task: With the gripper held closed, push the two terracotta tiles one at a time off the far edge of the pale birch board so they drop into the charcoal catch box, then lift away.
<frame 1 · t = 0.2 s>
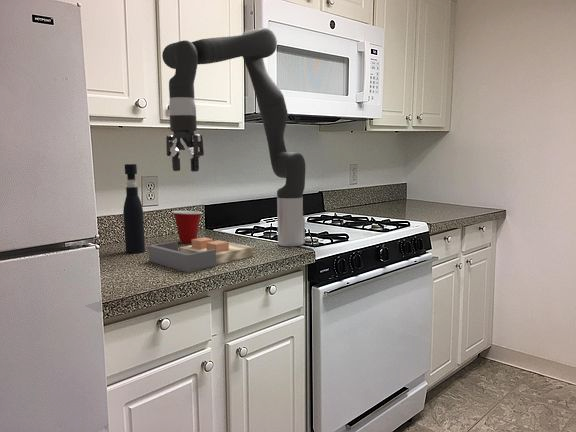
hand: (185, 171, 143), 29 cm above the worktop, fingers open, 8 cm apart
terracotta tile 1: (202, 246, 161), point 3 cm above the worktop, touching birch board
terracotta tile 2: (217, 250, 155), point 3 cm above the worktop, touching birch board
wine bottle: (135, 252, 169), on the worktop
birch board: (216, 256, 160), on the worktop
plastic cup: (188, 242, 184), on the worktop
catch box: (181, 263, 151), on the worktop
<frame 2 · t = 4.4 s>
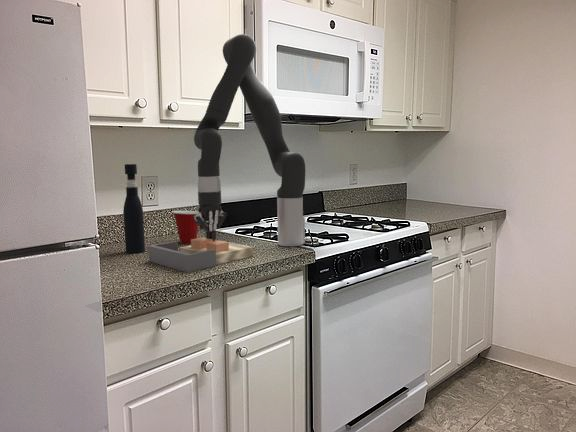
hand: (211, 241, 163), 4 cm above the worktop, fingers closed
terracotta tile 1: (201, 246, 160), point 3 cm above the worktop, touching gripper
everything else where it was.
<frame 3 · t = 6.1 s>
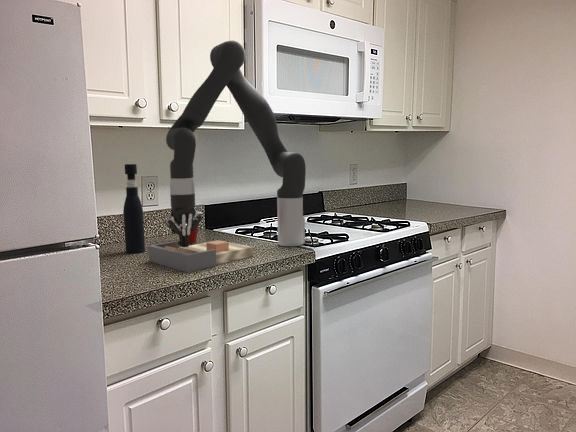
hand: (184, 246, 156), 4 cm above the worktop, fingers closed
terracotta tile 1: (176, 251, 152), point 4 cm above the worktop, tilted 139°, touching catch box
everything else where it was.
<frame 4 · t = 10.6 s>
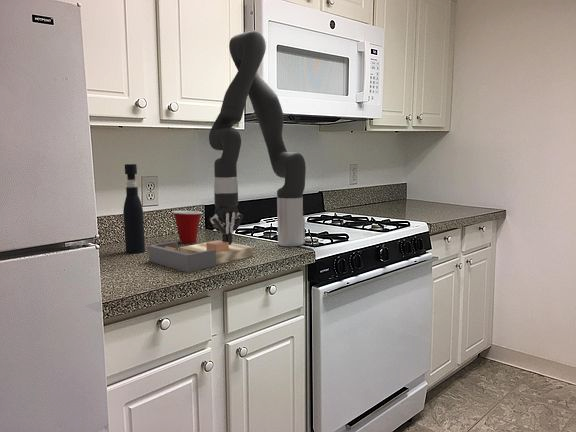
hand: (227, 244, 158), 4 cm above the worktop, fingers closed
terracotta tile 2: (217, 250, 155), point 3 cm above the worktop, touching birch board, gripper
everything else where it was.
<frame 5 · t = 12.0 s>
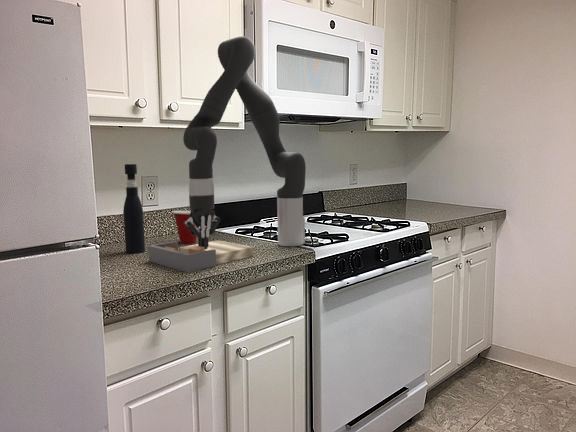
hand: (203, 249, 151), 4 cm above the worktop, fingers closed
terracotta tile 2: (201, 253, 151), point 3 cm above the worktop, tilted 103°
everything else where it was.
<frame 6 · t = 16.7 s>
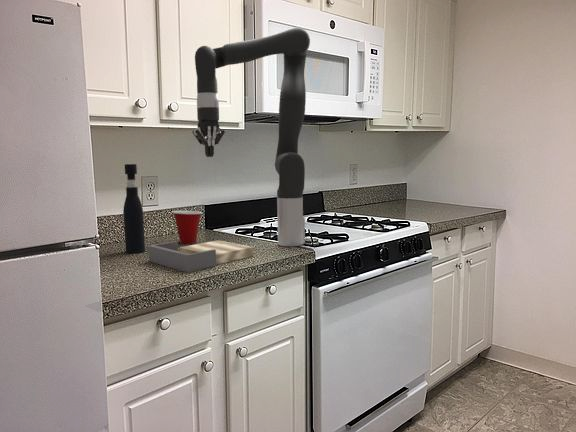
hand: (209, 156, 173), 32 cm above the worktop, fingers closed
terracotta tile 1: (173, 255, 152), point 2 cm above the worktop, tilted 180°
terracotta tile 2: (189, 258, 148), point 2 cm above the worktop, tilted 180°
everything else where it was.
at the end: terracotta tile 1 inside the target area (3.3 cm from its centre), point 2.2 cm above the worktop; terracotta tile 2 inside the target area (3.9 cm from its centre), point 2.2 cm above the worktop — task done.
